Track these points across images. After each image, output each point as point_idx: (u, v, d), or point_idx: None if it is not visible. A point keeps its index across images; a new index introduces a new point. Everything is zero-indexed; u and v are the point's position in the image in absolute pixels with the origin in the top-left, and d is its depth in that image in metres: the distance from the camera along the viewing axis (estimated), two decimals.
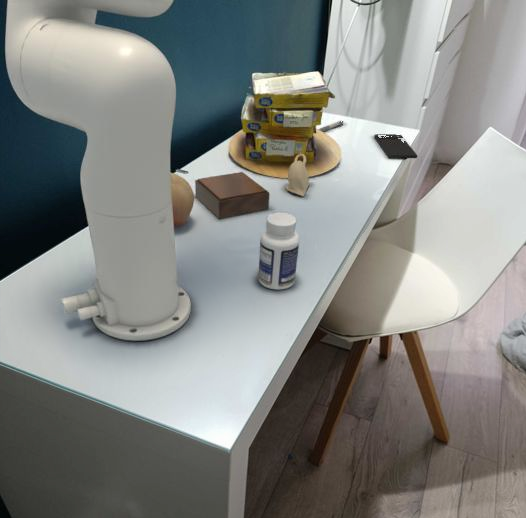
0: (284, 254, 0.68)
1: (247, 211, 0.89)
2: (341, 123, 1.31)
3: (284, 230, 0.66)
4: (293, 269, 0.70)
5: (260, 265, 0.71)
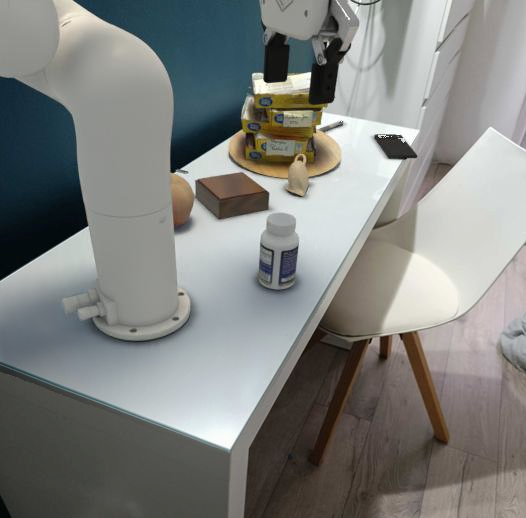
0: (284, 254, 0.68)
1: (247, 211, 0.89)
2: (341, 123, 1.31)
3: (284, 230, 0.66)
4: (293, 269, 0.70)
5: (260, 265, 0.71)
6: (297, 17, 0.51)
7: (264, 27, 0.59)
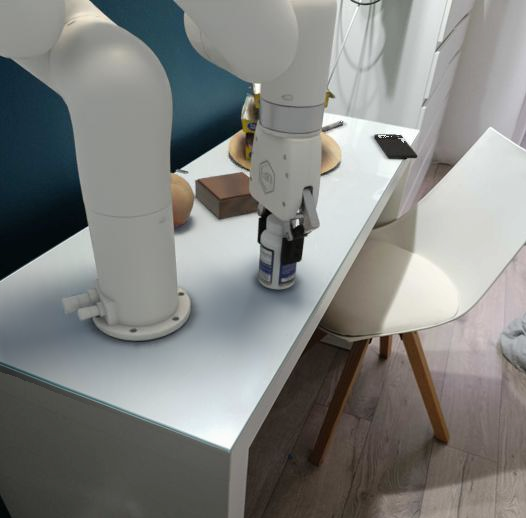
0: None
1: (247, 211, 0.89)
2: (341, 123, 1.31)
3: (284, 230, 0.66)
4: (293, 269, 0.70)
5: (260, 265, 0.71)
6: (277, 203, 0.62)
7: (258, 201, 0.70)
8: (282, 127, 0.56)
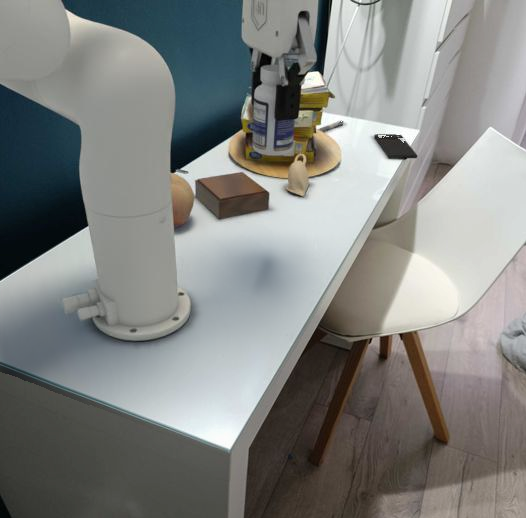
0: None
1: (247, 211, 0.89)
2: (341, 123, 1.31)
3: None
4: (289, 131, 0.64)
5: (254, 127, 0.65)
6: (270, 36, 0.56)
7: None
8: None
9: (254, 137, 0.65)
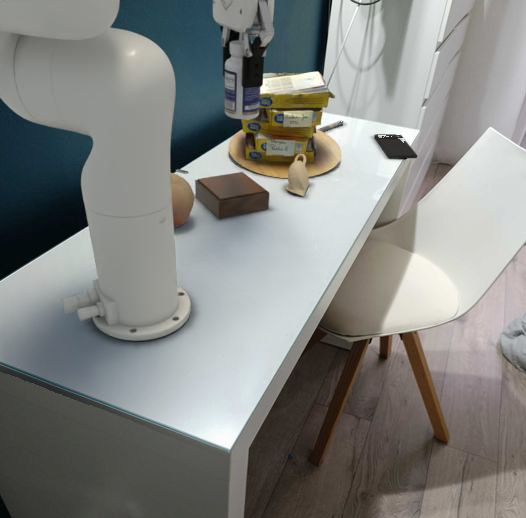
0: None
1: (247, 211, 0.89)
2: (341, 123, 1.31)
3: None
4: (256, 98, 0.75)
5: (225, 94, 0.75)
6: (235, 14, 0.66)
7: (222, 32, 0.74)
8: None
9: (226, 103, 0.76)
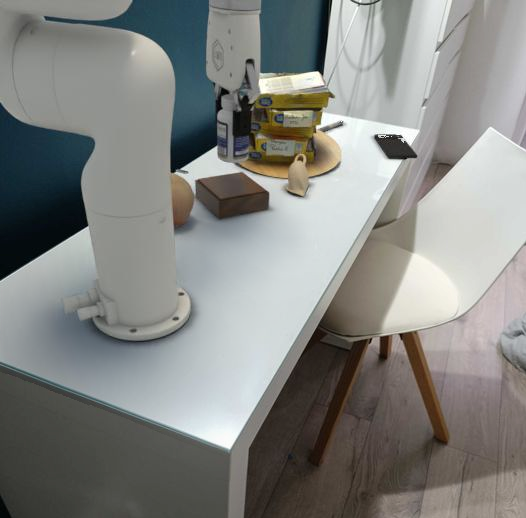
0: None
1: (247, 211, 0.89)
2: (341, 123, 1.31)
3: None
4: (245, 144, 0.84)
5: (218, 141, 0.84)
6: (226, 76, 0.75)
7: (215, 86, 0.83)
8: (226, 5, 0.70)
9: (218, 149, 0.85)
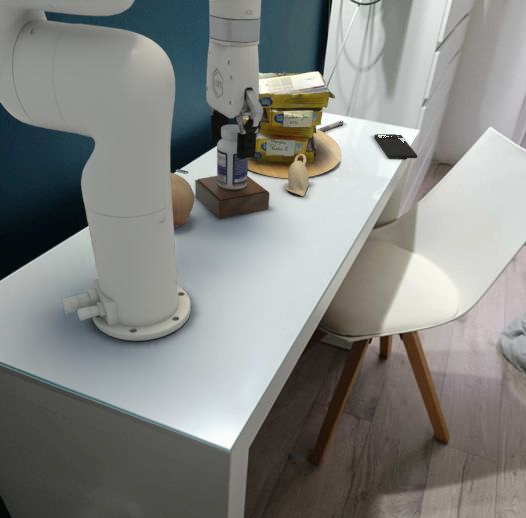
0: (236, 157, 0.84)
1: (247, 211, 0.89)
2: (341, 123, 1.31)
3: (235, 136, 0.83)
4: (244, 172, 0.87)
5: (217, 169, 0.87)
6: (225, 104, 0.78)
7: None
8: (225, 37, 0.72)
9: (218, 176, 0.88)
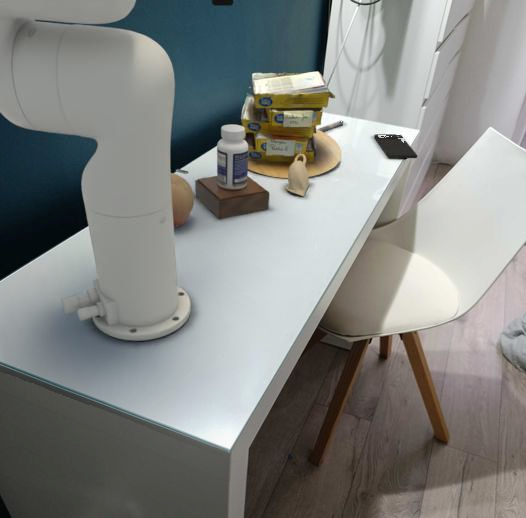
0: (236, 157, 0.84)
1: (247, 211, 0.89)
2: (341, 123, 1.31)
3: (235, 136, 0.83)
4: (244, 172, 0.87)
5: (217, 169, 0.87)
6: None
7: None
8: None
9: (218, 176, 0.88)
